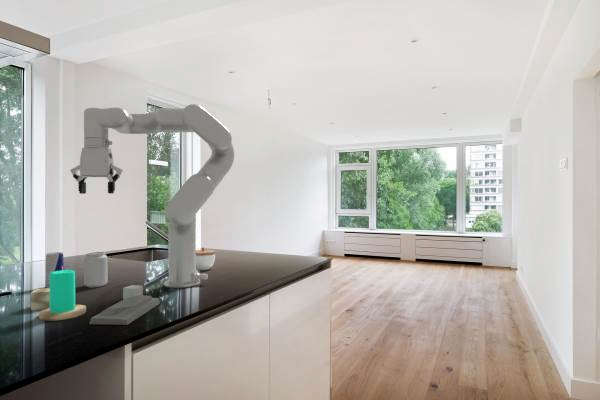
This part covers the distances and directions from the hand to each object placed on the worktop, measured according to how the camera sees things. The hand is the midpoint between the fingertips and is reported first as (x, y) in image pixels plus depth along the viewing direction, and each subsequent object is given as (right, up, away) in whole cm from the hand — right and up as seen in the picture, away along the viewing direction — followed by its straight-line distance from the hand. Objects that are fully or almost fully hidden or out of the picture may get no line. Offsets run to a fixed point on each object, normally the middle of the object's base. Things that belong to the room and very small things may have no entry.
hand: (96, 193), depth 135 cm
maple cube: (-4, -34, -22) cm, 40 cm away
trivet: (+6, -34, -30) cm, 45 cm away
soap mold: (+23, -34, -28) cm, 50 cm away
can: (-3, -34, +5) cm, 34 cm away
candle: (+6, -33, -29) cm, 44 cm away
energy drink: (-17, -34, +4) cm, 38 cm away
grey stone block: (+19, -33, -14) cm, 41 cm away
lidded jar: (+28, -33, +37) cm, 57 cm away
